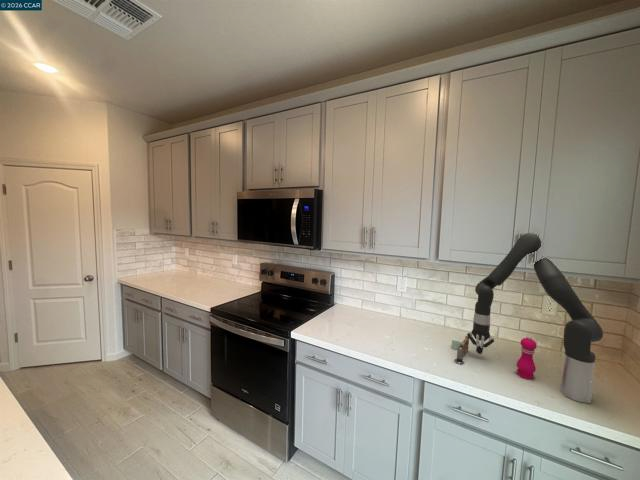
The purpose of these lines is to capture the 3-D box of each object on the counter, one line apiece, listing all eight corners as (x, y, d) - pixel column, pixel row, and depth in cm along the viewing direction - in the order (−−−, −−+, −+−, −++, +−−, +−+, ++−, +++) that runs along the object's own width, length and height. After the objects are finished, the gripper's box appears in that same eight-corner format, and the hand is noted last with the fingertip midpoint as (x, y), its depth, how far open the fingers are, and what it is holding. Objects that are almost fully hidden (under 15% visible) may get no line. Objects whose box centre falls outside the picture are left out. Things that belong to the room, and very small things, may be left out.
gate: (464, 349, 152) (466, 335, 151) (468, 350, 151) (469, 336, 150) (458, 359, 141) (459, 344, 141) (461, 360, 140) (463, 345, 140)
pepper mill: (527, 381, 125) (531, 339, 123) (512, 372, 132) (516, 333, 130) (538, 379, 127) (543, 338, 125) (523, 370, 134) (527, 331, 132)
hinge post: (464, 362, 140) (466, 347, 139) (463, 365, 136) (464, 350, 136) (455, 359, 143) (456, 344, 142) (453, 362, 139) (454, 347, 138)
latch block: (464, 349, 153) (464, 341, 152) (463, 351, 150) (463, 343, 150) (452, 346, 157) (453, 337, 156) (451, 348, 154) (452, 339, 154)
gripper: (497, 322, 141) (494, 354, 143) (468, 316, 149) (466, 346, 151) (496, 327, 135) (493, 360, 137) (466, 320, 143) (464, 352, 145)
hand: (479, 353), depth 144 cm, fingers closed
